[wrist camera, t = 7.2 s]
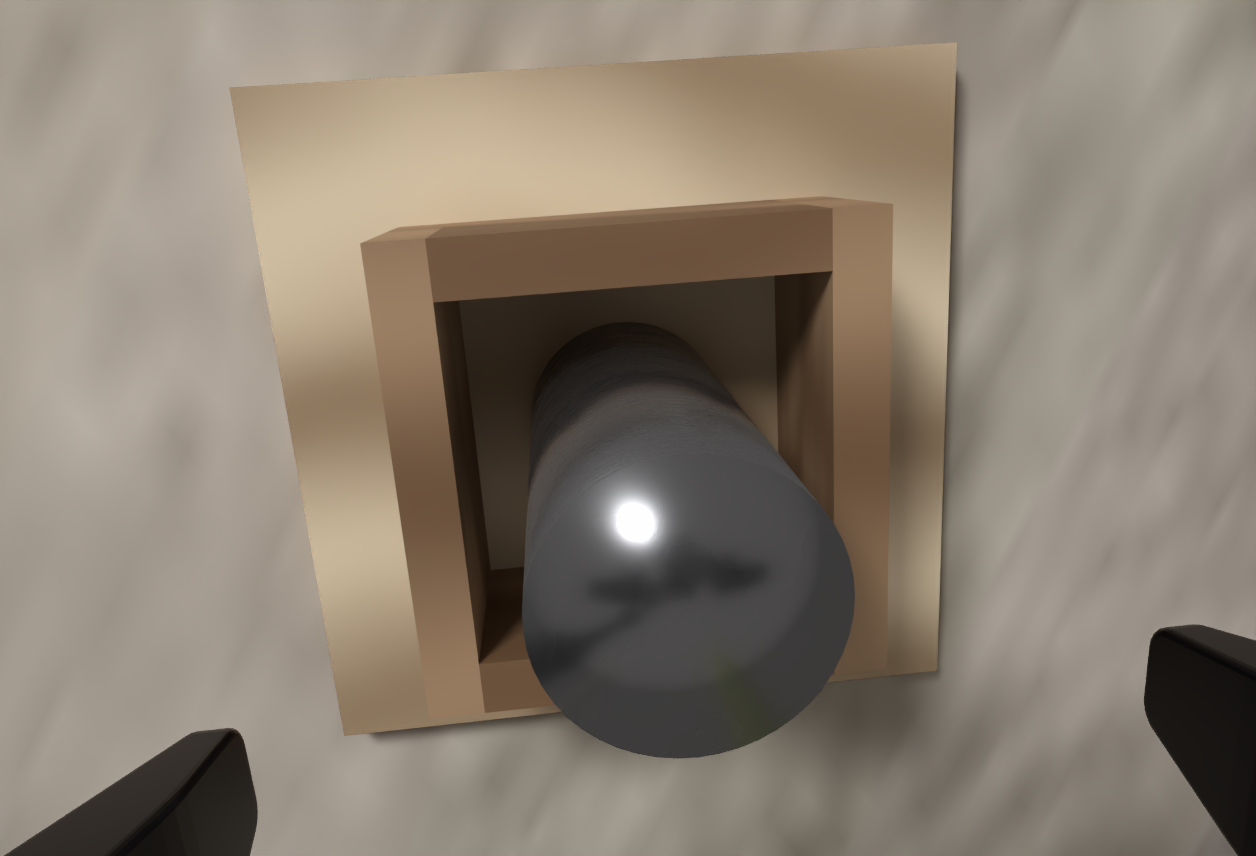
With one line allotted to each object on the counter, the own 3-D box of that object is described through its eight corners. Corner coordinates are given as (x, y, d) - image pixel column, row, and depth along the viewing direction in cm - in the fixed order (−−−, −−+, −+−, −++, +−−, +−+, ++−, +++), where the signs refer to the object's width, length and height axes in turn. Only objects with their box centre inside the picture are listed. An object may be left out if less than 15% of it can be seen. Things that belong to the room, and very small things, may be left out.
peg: (722, 494, 20) (854, 738, 12) (541, 511, 20) (538, 775, 11) (715, 314, 19) (855, 438, 10) (522, 329, 19) (505, 471, 10)
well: (923, 653, 23) (1020, 776, 18) (351, 715, 22) (300, 862, 17) (939, 47, 19) (1068, 9, 14) (242, 90, 18) (139, 65, 13)
